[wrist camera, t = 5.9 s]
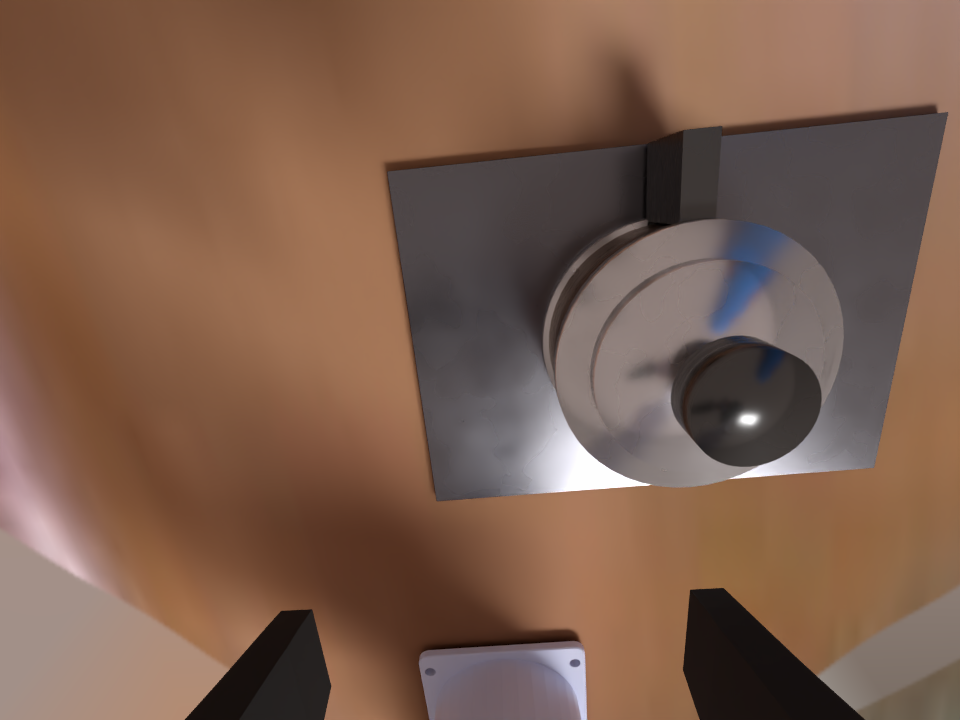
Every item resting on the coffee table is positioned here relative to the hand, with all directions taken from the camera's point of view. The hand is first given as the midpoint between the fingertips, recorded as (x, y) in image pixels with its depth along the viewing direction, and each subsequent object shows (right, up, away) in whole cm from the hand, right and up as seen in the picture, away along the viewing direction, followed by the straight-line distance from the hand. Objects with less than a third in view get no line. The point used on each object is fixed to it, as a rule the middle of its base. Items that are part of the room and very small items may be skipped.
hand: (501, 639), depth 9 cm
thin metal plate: (+6, +6, +8) cm, 12 cm away
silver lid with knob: (+6, +5, +5) cm, 9 cm away
